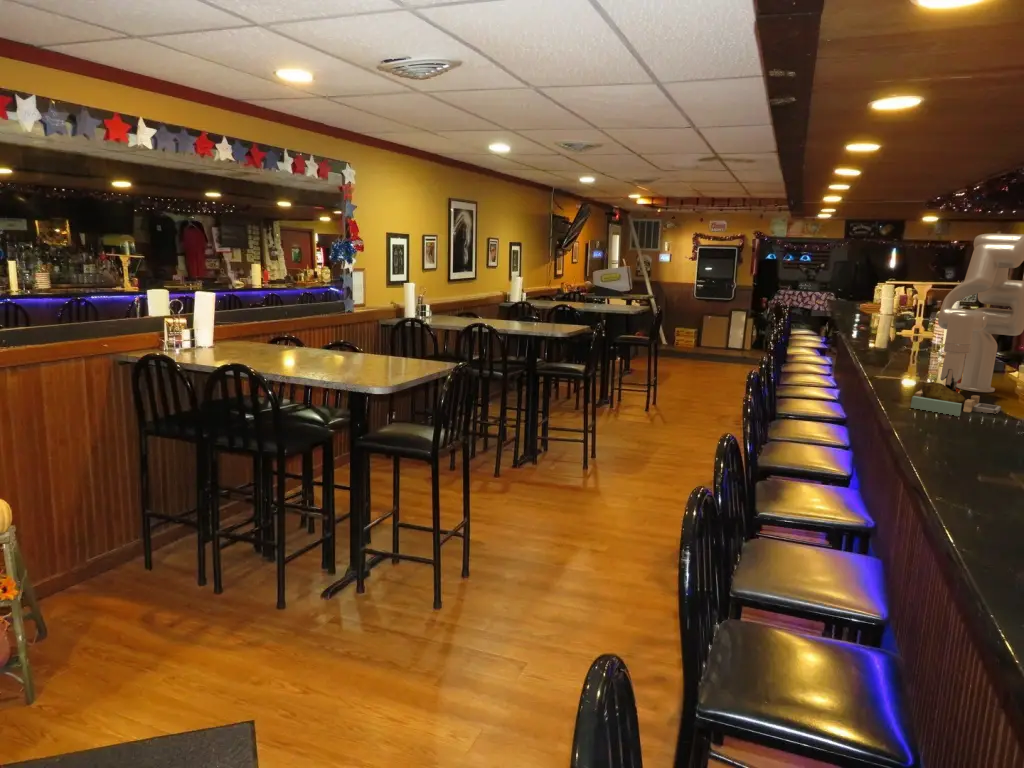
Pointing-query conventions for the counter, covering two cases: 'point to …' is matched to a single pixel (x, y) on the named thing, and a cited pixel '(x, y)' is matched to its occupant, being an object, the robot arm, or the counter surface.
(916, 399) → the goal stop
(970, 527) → the counter surface
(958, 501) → the counter surface
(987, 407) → the grey tray
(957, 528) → the counter surface
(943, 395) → the potato
